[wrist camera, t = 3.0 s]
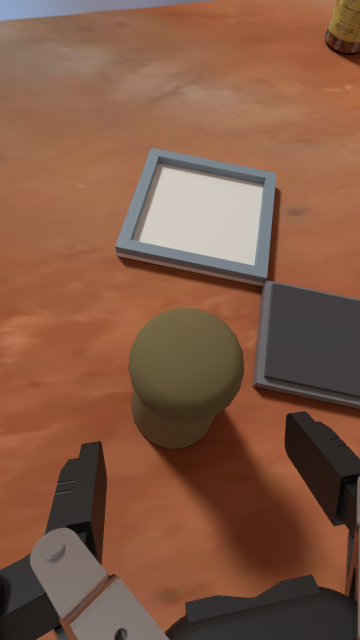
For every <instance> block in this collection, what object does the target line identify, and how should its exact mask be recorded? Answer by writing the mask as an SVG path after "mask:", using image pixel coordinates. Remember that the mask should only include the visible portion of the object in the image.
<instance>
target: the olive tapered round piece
mask: <svg viewBox="0 0 360 640" xmlns="http://www.w3.org/2000/svg"><path fill="white" fill-rule="evenodd" d="M128 369H129V373H130V377H131V381H132V386H133V389H134V394H133V399H132V413H133V417H134V422H135V424H136V425H137V427H138V429H139V430H140V432H141V434H142V435H143V436H144V437H146V438H147V439H148V440H149V441H150V442H151V443H153V444H155V445H158V446H161V447H163V448H166V449H181V448H184V447H187V446H190V445H193V444H195V443H196V442H197V441H199V440H200V439H201V438H203V437H204V436H205V434H206V433H207V431H208V430H209V428H210V427H211V425H212V422H213V419H214V416H216V415H217V414H218V413H220V412H221V411H222V410H224V409H225V408H226V407H228V406H229V405H230V403H231V402H232V400H233V399H234V397H235V396H236V394H237V393H238V392H239V390H240V386H241V382H242V378H243V375H244V361H243V351H242V349H241V346H240V344H239V341H238V339H237V337H236V335H235V334H234V333H233V332H232V330H231V329H230V328H229V327H228V325H227V324H226V323H224V322H223V321H221V320H220V319H219V318H217V317H216V316H214V315H213V314H210V313H207V312H204V311H202V310H199V309H190V308H178V309H174V310H169V311H165V312H163V313H161V314H159V315H158V316H156V317H154V318H152V319H151V320H150V321H149V322H148V323H147V324H146V325H145V326H144V327H143V328H142V329H141V330H140V331H139V333H138V335H137V337H136V339H135V341H134V343H133V345H132V348H131V350H130V357H129V367H128Z"/></svg>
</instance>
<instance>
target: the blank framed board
mask: <svg viewBox="0 0 360 640" xmlns="http://www.w3.org/2000/svg"><path fill="white" fill-rule="evenodd" d="M275 182H276V173H273V172H268V171H263V170H258V169H253V168H249V167H244V166H239V165H234V164H229V163H224V162H219V161H214V160H209V159H204V158H199V157H194V156H189V155H184V154H179V153H175V152H170V151H165V150H160V149H155V148H151V150H150V152H149V155H148V158H147V161H146V163H145V166H144V169H143V172H142V174H141V177H140V180H139V183H138V186H137V188H136V191H135V194H134V197H133V199H132V202H131V205H130V208H129V210H128V213H127V216H126V219H125V221H124V224H123V227H122V230H121V232H120V235H119V238H118V241H117V243H116V246H115V247H116V253H117V256H120V257H124V258H129V259H134V260H139V261H143V262H148V263H153V264H158V265H163V266H167V267H172V268H177V269H182V270H187V271H191V272H196V273H201V274H206V275H211V276H215V277H220V278H225V279H230V280H235V281H239V282H244V283H249V284H254V285H258V286H263V284H264V282H265V281H266V279H267V272H268V261H269V250H270V238H271V227H272V216H273V205H274V193H275Z"/></svg>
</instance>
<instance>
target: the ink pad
mask: <svg viewBox="0 0 360 640" xmlns="http://www.w3.org/2000/svg"><path fill="white" fill-rule="evenodd" d="M253 386H254V387H259V388H263V389H268V390H273V391H277V392H282V393H287V394H291V395H296V396H301V397H305V398H310V399H315V400H320V401H324V402H329V403H334V404H338V405H343V406H348V407H352V408H357V409H360V300H359V299H355V298H350V297H345V296H340V295H335V294H331V293H326V292H321V291H316V290H311V289H307V288H302V287H297V286H292V285H287V284H283V283H278V282H273V281H268V280H266V281H265V282H264V284H263V286H262V294H261V304H260V315H259V325H258V336H257V346H256V357H255V367H254V377H253Z"/></svg>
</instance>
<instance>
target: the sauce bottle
mask: <svg viewBox="0 0 360 640" xmlns="http://www.w3.org/2000/svg"><path fill="white" fill-rule="evenodd" d="M325 41H326V42H327V44H328V45H329V46H330V47H332V48H333V49H335V50H337V51H338V52H341V53H345V54H346V53H358V52H360V0H337V3H336V6H335V8H334V11H333V14H332V16H331V19H330V22H329V25H328V29H327V32H326V35H325Z"/></svg>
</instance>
